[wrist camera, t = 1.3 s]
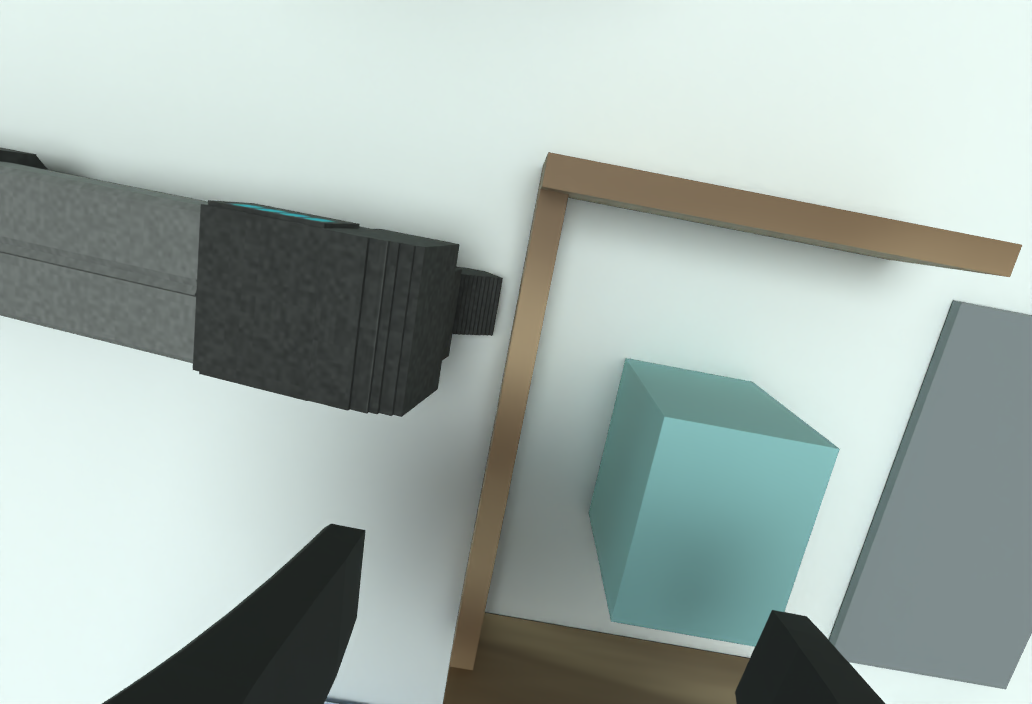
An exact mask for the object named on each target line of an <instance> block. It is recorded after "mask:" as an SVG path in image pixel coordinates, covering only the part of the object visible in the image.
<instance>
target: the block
mask: <svg viewBox="0 0 1032 704" xmlns="http://www.w3.org/2000/svg"><path fill="white" fill-rule="evenodd" d="M838 452H839V448H838V447H836V446H835V445H834V444H832V443H831V442H830V441H829V440H827V439H826V438H825V437H823V436H822V435H821V434H819V433H818V432H817V431H816V430H814V429H813V428H812V427H810V426H809V425H808V424H806V423H805V422H804V421H803V420H801V419H800V418H799V417H797V416H796V415H795V414H793V413H792V412H791V411H790V410H788V409H787V408H786V407H784V406H783V405H782V404H780V403H779V402H778V401H777V400H775V399H774V398H773V397H771V396H770V395H769V394H767V393H766V392H765V391H764V390H762V389H761V388H760V387H758V386H757V385H756V384H754V383H753V382H750V381H745V380H740V379H734V378H729V377H724V376H718V375H713V374H708V373H702V372H697V371H692V370H686V369H681V368H676V367H670V366H665V365H660V364H654V363H649V362H644V361H638V360H633V359H627V358H626V359H625V363H624V368H623V372H622V376H621V380H620V384H619V389H618V393H617V397H616V401H615V405H614V409H613V414H612V418H611V422H610V426H609V430H608V435H607V439H606V443H605V447H604V451H603V455H602V460H601V464H600V468H599V472H598V476H597V480H596V485H595V489H594V493H593V497H592V501H591V506H590V510H589V516H590V521H591V526H592V531H593V536H594V541H595V546H596V551H597V555H598V560H599V565H600V570H601V575H602V580H603V585H604V590H605V594H606V599H607V604H608V609H609V614H610V619H611V621H612V622H617V623H623V624H629V625H634V626H640V627H646V628H652V629H657V630H663V631H669V632H674V633H680V634H686V635H692V636H697V637H703V638H709V639H715V640H720V641H726V642H732V643H737V644H743V645H749V646H756V644H757V642H758V640H759V638H760V635H761V633H762V631H763V629H764V627H765V624H766V622H767V620H768V618H769V615H770V613H771V611H772V610H776V611H781V612H784V611H785V608H786V605H787V602H788V599H789V596H790V594H791V591H792V588H793V585H794V582H795V579H796V576H797V573H798V570H799V567H800V564H801V561H802V558H803V555H804V552H805V549H806V546H807V544H808V541H809V538H810V535H811V532H812V529H813V526H814V523H815V520H816V517H817V514H818V511H819V508H820V505H821V502H822V499H823V496H824V494H825V491H826V488H827V485H828V482H829V479H830V476H831V473H832V470H833V467H834V464H835V461H836V458H837V455H838Z"/></svg>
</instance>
